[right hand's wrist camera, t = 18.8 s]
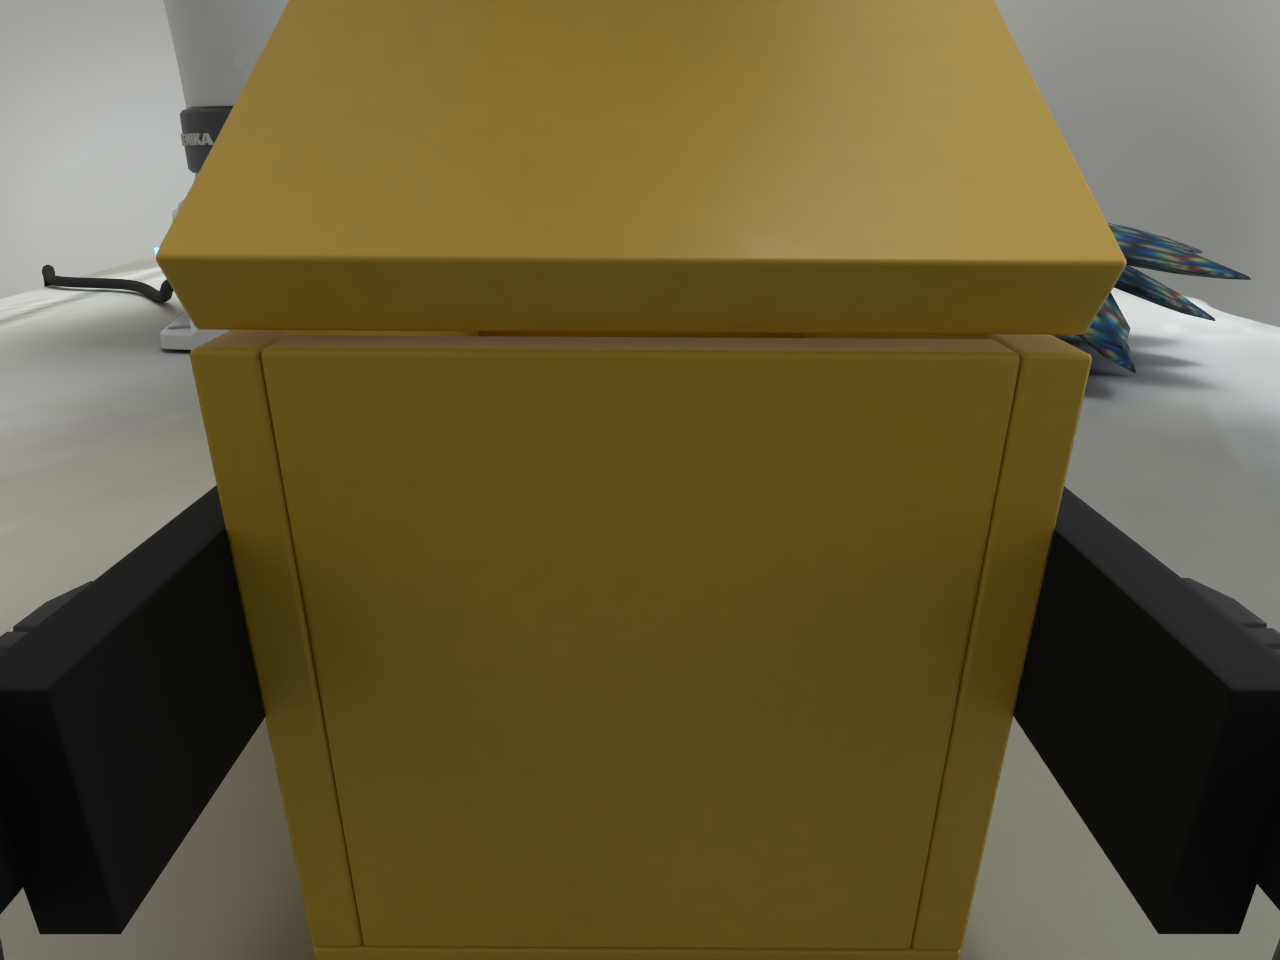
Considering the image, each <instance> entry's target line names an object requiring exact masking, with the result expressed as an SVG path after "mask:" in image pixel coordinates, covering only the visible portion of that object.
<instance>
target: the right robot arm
mask: <svg viewBox="0 0 1280 960" xmlns="http://www.w3.org/2000/svg"><path fill="white" fill-rule="evenodd" d="M1266 624H1267V623H1265V622H1264V621H1262V620H1261V619H1260V618H1258V617H1257V616H1256V615H1254V614H1253V613H1252V612H1250V611H1249V610H1248V609H1246V608H1245V607H1244V606H1242V605H1241V604H1240V603H1238V602H1237V601H1236V600H1234V599H1233V598H1231V597H1228V596H1226V595H1224V594H1222V593H1220V592H1218V591H1216V590H1213V589H1211V588H1209V587H1207V586H1205V585H1203V584H1201V583H1198V582H1196V581H1194V580H1192V579H1190V578H1181V577H1179V576H1178V575H1177V574H1175V573H1174V572H1173V571H1172V570H1170V569H1169V568H1168V567H1166V566H1165V565H1164V564H1163V563H1161V562H1160V561H1159V560H1158V559H1156V558H1155V557H1154V556H1152V555H1151V554H1150V553H1149V552H1147V551H1146V550H1145V549H1143V548H1142V547H1141V546H1140V545H1138V544H1137V543H1136V542H1134V541H1133V540H1132V539H1131V538H1129V537H1128V536H1127V535H1126V534H1124V533H1123V532H1122V531H1120V530H1119V529H1118V528H1117V527H1115V526H1114V525H1113V524H1111V523H1110V522H1109V521H1108V520H1106V519H1105V518H1104V517H1103V516H1101V515H1100V514H1099V513H1097V512H1096V511H1095V510H1094V509H1092V508H1091V507H1090V506H1088V505H1087V504H1086V503H1085V502H1083V501H1082V500H1081V499H1080V498H1078V497H1077V496H1076V495H1074V494H1073V493H1072V492H1071V491H1069V490H1068V489H1067V488H1065V487H1064V488H1063V493H1062V497H1061V502H1060V506H1059V511H1058V515H1057V520H1056V524H1055V529H1054V534H1053V538H1052V543H1051V547H1050V552H1049V556H1048V561H1047V565H1046V570H1045V574H1044V579H1043V583H1042V588H1041V592H1040V597H1039V601H1038V606H1037V610H1036V615H1035V619H1034V624H1033V628H1032V633H1031V637H1030V642H1029V647H1028V651H1027V656H1026V660H1025V665H1024V669H1023V674H1022V678H1021V683H1020V687H1019V692H1018V696H1017V701H1016V705H1015V710H1014V714H1013V716H1014V717H1015V719H1016V720H1017V722H1018V723H1019V725H1020V726H1021V728H1022V729H1023V731H1024V732H1025V734H1026V735H1027V737H1028V738H1029V740H1030V741H1031V743H1032V744H1033V746H1034V747H1035V749H1036V750H1037V752H1038V753H1039V755H1040V756H1041V758H1042V759H1043V761H1044V762H1045V764H1046V765H1047V767H1048V768H1049V770H1050V771H1051V773H1052V775H1053V776H1054V778H1055V779H1056V781H1057V782H1058V784H1059V785H1060V787H1061V788H1062V790H1063V791H1064V793H1065V794H1066V796H1067V797H1068V799H1069V800H1070V802H1071V803H1072V805H1073V806H1074V808H1075V809H1076V811H1077V812H1078V814H1079V815H1080V817H1081V818H1082V820H1083V821H1084V823H1085V824H1086V826H1087V827H1088V829H1089V830H1090V832H1091V833H1092V835H1093V836H1094V838H1095V839H1096V841H1097V842H1098V844H1099V845H1100V847H1101V848H1102V850H1103V851H1104V853H1105V854H1106V856H1107V857H1108V859H1109V860H1110V862H1111V863H1112V865H1113V866H1114V868H1115V869H1116V871H1117V872H1118V874H1119V875H1120V877H1121V878H1122V880H1123V881H1124V883H1125V884H1126V886H1127V887H1128V889H1129V890H1130V892H1131V893H1132V895H1133V896H1134V898H1135V899H1136V901H1137V902H1138V904H1139V905H1140V907H1141V908H1142V910H1143V911H1144V913H1145V914H1146V916H1147V917H1148V919H1149V920H1150V922H1151V923H1152V925H1153V926H1154V928H1155V929H1156V931H1157V932H1158V934H1239V932H1240V930H1241V927H1242V924H1243V921H1244V918H1245V915H1246V913H1247V910H1248V907H1249V904H1250V901H1251V899H1252V896H1253V893H1254V890H1255V887H1256V884H1258V885H1259V887H1260V888H1261V889H1262V890H1263V891H1264V892H1265V894H1266V895H1267V896H1268V897H1269V898H1270V900H1271V901H1272V902H1273V903H1274V904H1275V905H1276V907H1277V908H1278V909H1279V910H1280V633H1279V632H1277V631H1276V630H1275V629H1273V628H1267V626H1266ZM13 628H14V629H13V632H6V633H5V634H3V635H2V636H1V637H0V914H1V913H2V912H3V910H4V909H5V908H6V907H7V906H8V905H9V903H10V902H11V901H12V900H13V899H14V897H15V896H16V895H17V894H18V893H19V891H20V890H21V889H22V888H24V890H25V893H26V896H27V899H28V902H29V904H30V907H31V910H32V913H33V916H34V919H35V921H36V924H37V927H38V930H39V933H40V934H121V933H122V931H123V930H124V928H125V927H126V925H127V924H128V922H129V921H130V919H131V918H132V916H133V915H134V913H135V912H136V910H137V909H138V907H139V906H140V904H141V902H142V901H143V899H144V898H145V896H146V895H147V893H148V892H149V890H150V889H151V887H152V886H153V884H154V883H155V881H156V880H157V878H158V877H159V875H160V874H161V872H162V871H163V869H164V868H165V866H166V865H167V863H168V862H169V860H170V859H171V857H172V856H173V854H174V853H175V851H176V850H177V848H178V847H179V845H180V844H181V842H182V841H183V839H184V838H185V836H186V835H187V833H188V832H189V830H190V829H191V827H192V826H193V824H194V823H195V821H196V820H197V818H198V817H199V815H200V814H201V812H202V811H203V809H204V808H205V806H206V805H207V803H208V802H209V800H210V799H211V797H212V796H213V794H214V793H215V791H216V790H217V788H218V787H219V785H220V784H221V782H222V781H223V779H224V778H225V776H226V775H227V773H228V772H229V770H230V769H231V767H232V766H233V764H234V763H235V761H236V760H237V758H238V757H239V755H240V754H241V752H242V751H243V749H244V748H245V746H246V745H247V743H248V742H249V740H250V739H251V737H252V736H253V734H254V733H255V731H256V730H257V728H258V727H259V725H260V724H261V722H262V721H263V719H264V718H265V711H264V707H263V702H262V697H261V693H260V688H259V683H258V679H257V674H256V669H255V665H254V660H253V655H252V650H251V646H250V641H249V636H248V632H247V627H246V622H245V618H244V613H243V608H242V603H241V598H240V594H239V589H238V584H237V579H236V574H235V570H234V565H233V560H232V555H231V550H230V546H229V541H228V536H227V531H226V526H225V522H224V517H223V512H222V507H221V502H220V498H219V493H218V488H217V485H216V486H215V487H214V488H212V489H211V490H210V491H209V492H207V493H206V494H205V495H203V496H202V497H201V498H200V499H198V500H197V501H196V502H194V503H193V504H192V505H191V506H189V507H188V508H187V509H186V510H184V511H183V512H182V513H180V514H179V515H178V516H177V517H175V518H174V519H173V520H171V521H170V522H169V523H168V524H166V525H165V526H164V527H163V528H161V529H160V530H159V531H157V532H156V533H155V534H154V535H152V536H151V537H150V538H148V539H147V540H146V541H145V542H143V543H142V544H141V545H139V546H138V547H137V548H136V549H134V550H133V551H132V552H131V553H129V554H128V555H127V556H125V557H124V558H123V559H122V560H120V561H119V562H118V563H116V564H115V565H114V566H113V567H111V568H110V569H109V570H108V571H106V572H105V573H104V574H102V575H101V576H100V577H99V578H97V579H96V580H95V581H90V582H88V583H86V584H84V585H82V586H80V587H77V588H75V589H73V590H71V591H69V592H67V593H65V594H63V595H60V596H58V597H56V598H54V599H52V600H50V601H48V602H46V603H44V604H43V605H42V606H40V607H39V608H38V609H36V610H35V611H34V612H32V613H31V614H30V615H28V616H27V617H26V618H25V619H23V620H22V621H21V622H19V623H18V624H17V625H15V626H14V627H13ZM0 960H4V955H3V949H2V943H1V940H0ZM1272 960H1280V940H1279V942H1278V945H1277V947H1276V950H1275V953H1274V955H1273V958H1272Z"/></svg>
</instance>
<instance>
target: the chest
mask: <svg viewBox="0 0 1280 960" xmlns="http://www.w3.org/2000/svg"><path fill="white" fill-rule="evenodd" d="M190 358H191V363H192V368H193V373H194V378H195V382H196V387H197V392H198V397H199V402H200V406H201V411H202V416H203V421H204V426H205V430H206V435H207V440H208V445H209V450H210V454H211V459H212V464H213V469H214V474H215V478H216V483H217V488H218V493H219V498H220V502H221V507H222V512H223V517H224V522H225V526H226V531H227V536H228V541H229V546H230V550H231V555H232V560H233V565H234V570H235V574H236V579H237V584H238V589H239V594H240V598H241V603H242V608H243V613H244V618H245V622H246V627H247V632H248V636H249V641H250V646H251V650H252V655H253V660H254V665H255V669H256V674H257V679H258V683H259V688H260V693H261V697H262V702H263V707H264V711H265V718H266V723H267V728H268V733H269V738H270V742H271V747H272V752H273V757H274V762H275V766H276V771H277V776H278V781H279V786H280V790H281V795H282V800H283V805H284V810H285V814H286V819H287V824H288V829H289V834H290V838H291V843H292V848H293V853H294V858H295V862H296V867H297V872H298V877H299V882H300V886H301V891H302V896H303V901H304V906H305V910H306V915H307V920H308V925H309V930H310V934H311V939H312V944H313V945H314V947H313V950H314V955H315V960H959V958H960V953H961V951H960V949H961V948H962V945H963V940H964V936H965V931H966V927H967V922H968V918H969V913H970V909H971V904H972V900H973V895H974V891H975V886H976V882H977V877H978V873H979V868H980V864H981V859H982V854H983V850H984V845H985V841H986V836H987V832H988V827H989V823H990V818H991V814H992V809H993V805H994V800H995V796H996V791H997V787H998V782H999V778H1000V773H1001V769H1002V764H1003V760H1004V755H1005V751H1006V746H1007V741H1008V737H1009V732H1010V728H1011V723H1012V719H1013V714H1014V710H1015V705H1016V701H1017V696H1018V692H1019V687H1020V683H1021V678H1022V674H1023V669H1024V665H1025V660H1026V656H1027V651H1028V647H1029V642H1030V637H1031V633H1032V628H1033V624H1034V619H1035V615H1036V610H1037V606H1038V601H1039V597H1040V592H1041V588H1042V583H1043V579H1044V574H1045V570H1046V565H1047V561H1048V556H1049V552H1050V547H1051V543H1052V538H1053V534H1054V529H1055V524H1056V520H1057V515H1058V511H1059V506H1060V502H1061V497H1062V493H1063V488H1064V484H1065V479H1066V475H1067V470H1068V466H1069V461H1070V457H1071V452H1072V448H1073V443H1074V439H1075V434H1076V430H1077V425H1078V421H1079V416H1080V411H1081V407H1082V402H1083V398H1084V393H1085V389H1086V384H1087V380H1088V375H1089V371H1090V366H1091V362H1092V357H1091V355H1090V354H1088V353H1086V352H1084V351H1082V350H1080V349H1078V348H1076V347H1074V346H1072V345H1070V344H1068V343H1066V342H1064V341H1062V340H1060V339H1058V338H1056V337H1054V336H1052V335H1023V334H855V333H687V332H519V331H351V330H230V331H228V332H226V333H224V334H222V335H220V336H218V337H216V338H214V339H212V340H210V341H208V342H206V343H204V344H202V345H200V346H198V347H196V348H194V349H192V350H191V352H190Z"/></svg>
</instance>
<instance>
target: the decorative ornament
mask: <svg viewBox="0 0 1280 960" xmlns="http://www.w3.org/2000/svg"><path fill="white" fill-rule="evenodd" d="M1107 224H1108V226H1109V227H1110V229H1111V231H1112V233H1113V235H1114V237H1115V239H1116V241H1117V243H1118V245H1119V247H1120V249H1121V251H1122V253H1123V255H1124V257H1125V259H1126V267H1125V269H1124V270H1123V272H1122V274H1121V275H1120V277H1119V279H1118V280H1117V282H1116V284H1115V285H1114V288H1117V289H1119V290H1122V291H1124V292H1127V293H1130V294H1132V295H1135V296H1137V297H1140V298H1142V299H1145V300H1148V301H1150V302H1153V303H1155V304H1158V305H1161V306H1163V307H1166V308H1169V309H1172V310H1175V311H1177V312H1180V313H1184V314H1188V315H1192V316H1196V317H1200V318H1204V319H1209V320H1213V321H1215V319H1214V318H1213V317H1212V316H1210V315H1209V314H1207V313H1206V312H1205V311H1203V310H1202V309H1200V308H1199V307H1197V306H1196V305H1194V304H1193V303H1192V302H1190V301H1189V300H1187V299H1186V298H1184V297H1183V296H1181V295H1180V294H1179V293H1177V292H1175V291H1173V290H1172V289H1170V288H1168V287H1166V286H1164V285H1163V284H1161V283H1159V282H1157V281H1156V280H1154V279H1152V278H1150V277H1149V276H1147V275H1145V274H1143V273H1142V272H1140V271H1138V270H1136V269H1134V268H1132V267H1130V266H1135V267H1141V268H1146V269H1152V270H1158V271H1163V272H1169V273H1176V274H1183V275H1192V276H1202V277H1212V278H1223V279H1245V280H1250V278H1249V277H1248V276H1246V275H1244V274H1241V273H1239V272H1237V271H1234V270H1232V269H1230V268H1227V267H1225V266H1222V265H1220V264H1218V263H1215V262H1213V261H1211V260H1208V259H1206V258H1203V257H1201V256H1199V255H1196V254H1194V253H1202V251H1201V250H1198V249H1196V248H1193V247H1190V246H1188V245H1185V244H1183V243H1180V242H1177V241H1175V240H1172V239H1169V238H1166V237H1163V236H1159V235H1155V234H1151V233H1148V232H1144V231H1140V230H1137V229H1133V228H1129V227H1124V226H1119V225H1114V224H1110V223H1107ZM1128 265H1129V266H1128ZM1129 331H1130V327H1129V325H1128V323H1127V322H1126V320H1125V318H1124V316H1123V314H1122V312H1121V311H1120V309H1119V307H1118V305H1117V303H1116V301H1115V300H1114V298H1113V296H1112V294H1111V293H1110V294H1109V295H1108V297H1107V299H1106V300H1105V302H1104V304H1103V305H1102V307H1101V309H1100V310H1099V312H1098V314H1097V315H1096V317H1095V319H1094V320H1093V322H1092V324H1091V325H1090V327H1089V328H1088V330H1087V332H1086V333H1084V334H1082V335H1078V336H1079V337H1081V338H1082V339H1083V340H1084V341H1085V342H1087V343H1088V344H1089V345H1090V346H1092V347H1093V348H1094V349H1095V350H1097V351H1098V352H1099V353H1100V354H1102V355H1103V356H1104V357H1106V358H1108V359H1110V360H1112V361H1114V362H1115V363H1117V364H1119V365H1121V366H1123V367H1125V368H1127V369H1129V370H1131V371H1132V372H1134V373H1136V372H1135V367H1134V363H1133V360H1132V356H1131V353H1130V349H1129V346H1128V345H1127V343H1126V342H1127V338H1128V334H1129ZM1052 336H1053V335H1052Z"/></svg>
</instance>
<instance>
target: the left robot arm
mask: <svg viewBox="0 0 1280 960" xmlns="http://www.w3.org/2000/svg"><path fill="white" fill-rule="evenodd" d="M288 2H289V0H164V4H165V8H166V13H167V17H168V21H169V26H170V30H171V34H172V39H173V43H174V48H175V52H176V57H177V62H178V67H179V72H180V77H181V82H182V87H183V92H184V98H185V103H186V110H183V111H182V112H181V113H180V119H181V126H182V133H183V134H181V139H182V145H183V146H185V152H186V157H187V163H188V168H189V170H190V171H192V172H193V173H196V175H195V179H196V177H197V175H198V173H199V171H200V170H201V168H202V166H203V164H204V162H205V160H206V158H207V156H208V154H209V152H210V150H211V149H212V147H213V145H214V143H215V141H216V139H217V137H218V135H219V133H220V131H221V129H222V128H223V126H224V124H225V122H226V120H227V118H228V116H229V114H230V112H231V110H232V108H233V107H234V105H235V103H236V101H237V99H238V97H239V95H240V93H241V91H242V89H243V87H244V86H245V84H246V82H247V80H248V78H249V76H250V74H251V72H252V70H253V68H254V66H255V65H256V63H257V61H258V59H259V57H260V55H261V53H262V51H263V49H264V47H265V45H266V44H267V42H268V40H269V38H270V36H271V34H272V32H273V30H274V28H275V26H276V24H277V23H278V21H279V19H280V17H281V15H282V13H283V11H284V9H285V7H286V5H287V3H288ZM194 181H195V180H194ZM184 200H185V199H184ZM184 200H183V201H182V202H181V203H180V204H179V205H178V208H177V209H176V210H174V211H173V212H172V220H173V221H174V219H175V217H176V215H177V213H178V212H179V210H180V208H181V206H182V204H183V202H184ZM154 250H155V255H156V254H157V252H158V250H159V248H154ZM42 274H43V277H44V287H46V286H49V285H55V286H64V287H83V288H112V289H125V290H132V291H136V292H140V293H142V294H144V295H146V296H148V297H150V298H151V299H153V300H154V301H157V302H166V301H168V300H169V299H171V296H172V293H173V291H174V290H173V288H172V287H171V285H170V283H169V281H168V280H165V281H164V282H163V283H162V285H161V288H160V291H158V290H156V289H154V288H153V287H151V286H149V285H147V284H145V283H142V282H138V281H133V280H124V279H106V278H74V277H61V276H55V271H54V268H53V267H52V266H50V265H45V266H44V267H43V269H42ZM228 331H230V330H200V329H197V328H196V327H195V326H194V324H193V322H192V321H191V319H190V317H189V316H188V314H187V312H186V311H184V312H183V313H182V314H181V315H180V316H179V317H177V318H176V319H175V320H174V321H173V322H171V323H170V324H169V325H168V326H167V327H165V328H164V329H163V330H162V331H161V332H160V333H159V336H160V347H161V348H163V349H175V350H192V349H194V348H196V347H198V346H200V345H202V344H204V343H206V342H208V341H210V340H212V339H214V338H216V337H218V336H220V335H222V334H224V333H226V332H228Z"/></svg>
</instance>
